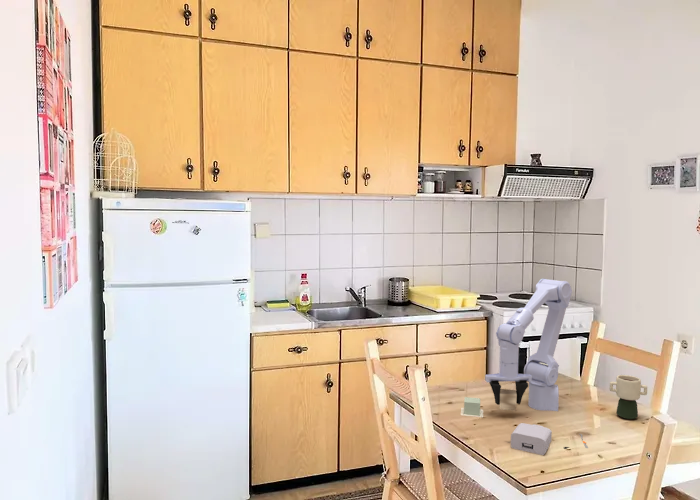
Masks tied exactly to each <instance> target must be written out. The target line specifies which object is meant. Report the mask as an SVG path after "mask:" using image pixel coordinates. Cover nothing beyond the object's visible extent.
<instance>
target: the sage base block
mask: <svg viewBox="0 0 700 500" xmlns="http://www.w3.org/2000/svg"><path fill="white" fill-rule="evenodd" d="M463 408H464V414H467V415H477V416H480V409H481V398H479V397H467V396H464V400H463Z"/></svg>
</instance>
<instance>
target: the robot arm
mask: <svg viewBox="0 0 700 500" xmlns="http://www.w3.org/2000/svg"><path fill="white" fill-rule="evenodd" d="M572 294H573V289H572V286H571V284H570V282H569V281H567V280H556V279H548V278H541V279H539V281H538V282H537V283H536V284H535V291H534V293H533V295H532V296H531V297H530V298H529V300H528V301H527V303H526V305H525V306H524V307H519V308H517V309H516V310H515V312H514V313H513V314H512V315H511V316H510V318H509V319H508V320H507V322H506V323H502V324H500V325H499V326H498V327H497V329H496V330H497V331H496V332H495V335H496V338H497V340H498V341H497V343H498V346H499V370H498V371H499V372H497V373H491V374H490V373H489V374H485V375H484V381H485V382H486V383H488V384H489V385H490V387H491V390H492V393H493V396H494V403H495V405H497V406H499V404H500V390H501V389H502V385H501V383H500V382H515V384H514V385H515V390H516V394H517V402H516V405H521V403H522V399H523V396H524V394H525V393H526V390H527V389H528V402H527V403H528V407H529V408H531V409H534V410H537V411H549V412H550V411H551V412H559V399H560V398H559V386H558V384H556V382H557V380H558V378H559V366H560V365H559V363H558V362H557V360H556V359H555V358H554V355H555V351H556V347H557V344H558V340H559V336H560V333H561V329H562V325H563V322H564V319H565V314H566V311H567V308H568V307H569V304H570V300H571V298H572V297H571V296H572ZM544 304H545V305H547V308H548V311H547V314H546V318H545V322H544V325H543V330H542V333H541V337H540V338H539V339H540V340H539V343H538V347H537V351H536V352H535V353H533V354H531V355H530V356H529V357H528V360H527V361H526V364H525V365H524V368H523V373H519V349H520V347H519V345H520V343H521V342H522V341H523V339H524V335H525V333H526V329H527V328H528V327H530V324H531V323H532V322H533V321H534V319H535V318H534V314H535V313H536V312H537V311H538V310H539V309H540V308H541V307H542V306H543V305H544Z"/></svg>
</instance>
